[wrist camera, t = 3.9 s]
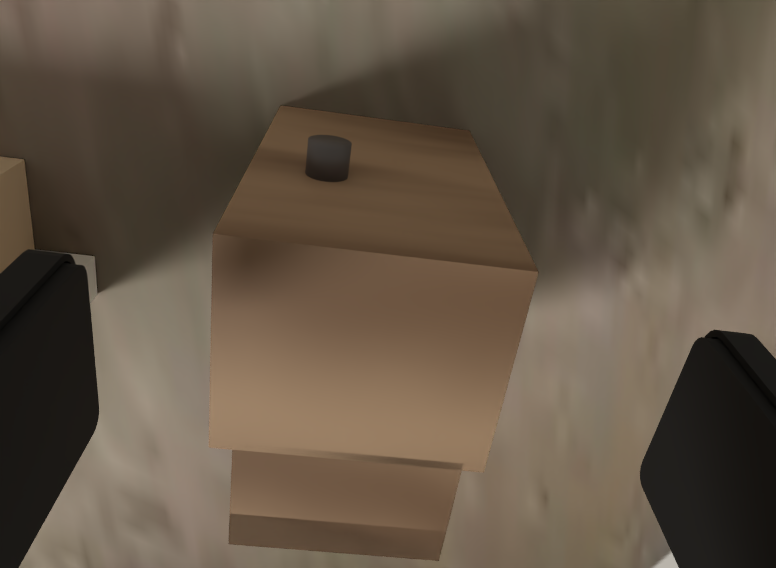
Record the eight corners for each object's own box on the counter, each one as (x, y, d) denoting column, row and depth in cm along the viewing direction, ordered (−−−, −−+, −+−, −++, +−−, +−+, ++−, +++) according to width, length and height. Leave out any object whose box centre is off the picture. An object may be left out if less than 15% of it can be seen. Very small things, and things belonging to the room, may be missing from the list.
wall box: (428, 338, 25) (458, 562, 16) (266, 321, 24) (207, 542, 16) (474, 105, 21) (549, 233, 12) (282, 79, 20) (213, 191, 12)
